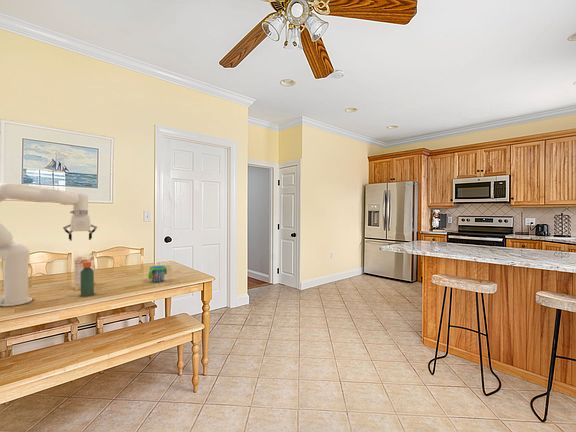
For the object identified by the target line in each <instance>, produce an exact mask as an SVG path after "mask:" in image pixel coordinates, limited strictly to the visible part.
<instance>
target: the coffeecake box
mask: <svg viewBox="0 0 576 432" xmlns="http://www.w3.org/2000/svg"><path fill="white" fill-rule="evenodd" d="M83 262H91V267H90V268H92V270H93V271H94V272H95V255H94V254H83V255H81V256H79V257H77V258H74V291H81V275H80V272H81V271H82V270H83V269H84V268H83Z"/></svg>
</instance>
